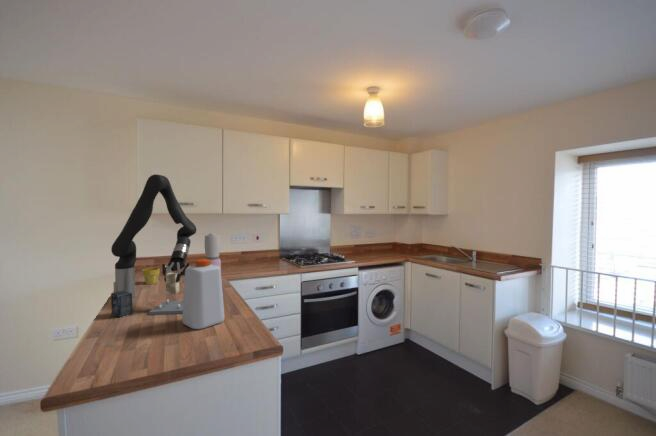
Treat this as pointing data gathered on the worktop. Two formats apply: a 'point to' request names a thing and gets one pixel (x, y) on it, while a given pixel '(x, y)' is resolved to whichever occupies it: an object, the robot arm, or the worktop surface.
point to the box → (121, 303)
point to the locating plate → (168, 308)
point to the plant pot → (151, 275)
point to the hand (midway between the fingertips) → (171, 281)
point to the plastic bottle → (203, 295)
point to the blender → (213, 248)
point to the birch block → (172, 283)
